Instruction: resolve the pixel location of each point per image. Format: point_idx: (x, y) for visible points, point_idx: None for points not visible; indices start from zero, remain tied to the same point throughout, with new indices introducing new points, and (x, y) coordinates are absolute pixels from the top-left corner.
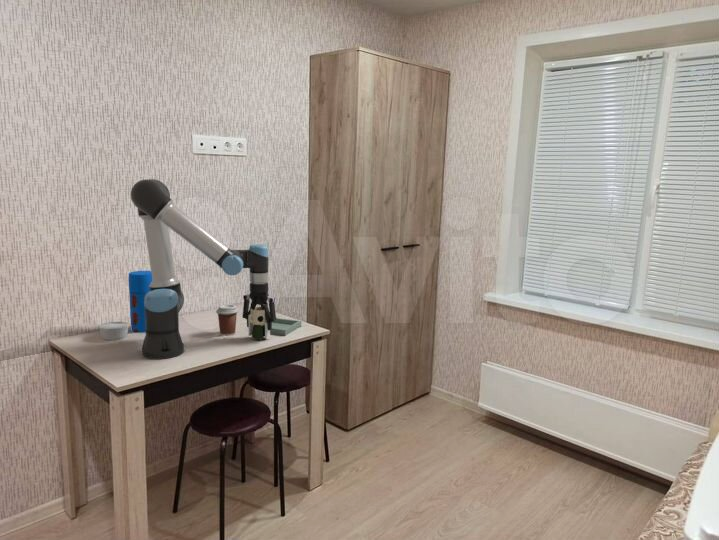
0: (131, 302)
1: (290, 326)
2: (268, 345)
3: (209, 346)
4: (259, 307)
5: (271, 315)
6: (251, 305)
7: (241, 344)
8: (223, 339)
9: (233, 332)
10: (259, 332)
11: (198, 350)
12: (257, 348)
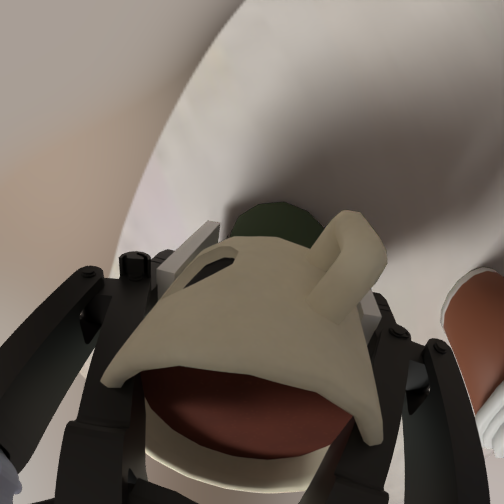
0: None
1: None
2: (168, 127)
3: (497, 63)
4: (268, 481)
5: (59, 302)
6: (368, 488)
7: (354, 101)
8: (483, 195)
9: (453, 300)
10: (251, 223)
11: (500, 11)
12: (213, 51)
